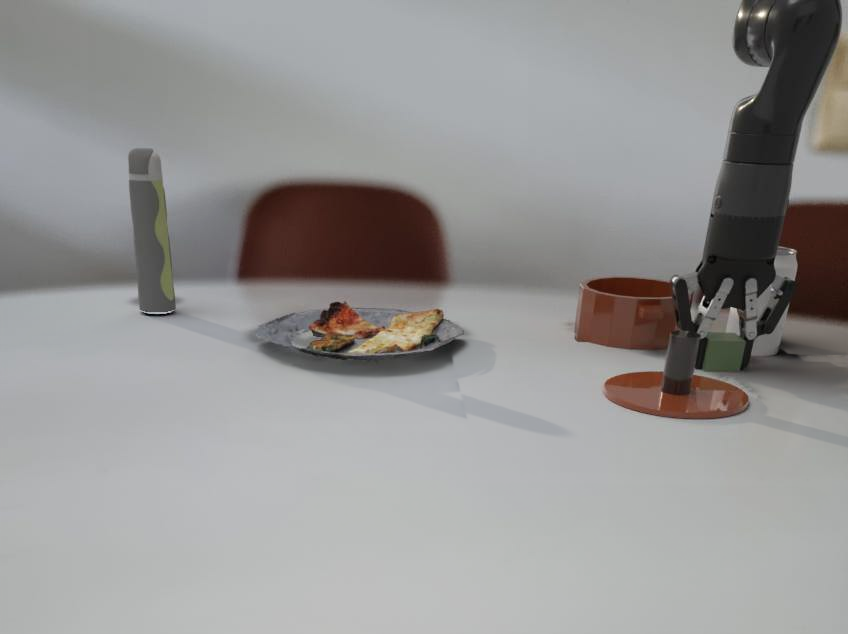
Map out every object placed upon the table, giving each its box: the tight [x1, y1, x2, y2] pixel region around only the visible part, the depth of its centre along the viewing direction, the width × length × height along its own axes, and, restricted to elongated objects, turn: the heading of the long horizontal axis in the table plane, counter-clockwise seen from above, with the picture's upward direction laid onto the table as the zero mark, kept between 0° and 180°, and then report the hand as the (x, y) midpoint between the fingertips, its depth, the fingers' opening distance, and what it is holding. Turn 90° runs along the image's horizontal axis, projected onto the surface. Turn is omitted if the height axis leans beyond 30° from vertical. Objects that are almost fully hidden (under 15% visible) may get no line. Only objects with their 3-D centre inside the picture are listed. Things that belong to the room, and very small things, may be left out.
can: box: [725, 246, 799, 357], centre depth 116 cm, size 6×6×12 cm
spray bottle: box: [127, 147, 177, 312], centre depth 128 cm, size 5×5×20 cm
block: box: [701, 331, 746, 373], centre depth 111 cm, size 4×4×4 cm
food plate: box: [254, 300, 464, 364], centre depth 118 cm, size 25×23×4 cm
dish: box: [573, 275, 695, 351], centre depth 122 cm, size 14×19×6 cm
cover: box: [602, 331, 750, 420], centre depth 100 cm, size 15×15×7 cm
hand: (715, 369), depth 112 cm, fingers closed on block, 4 cm apart
